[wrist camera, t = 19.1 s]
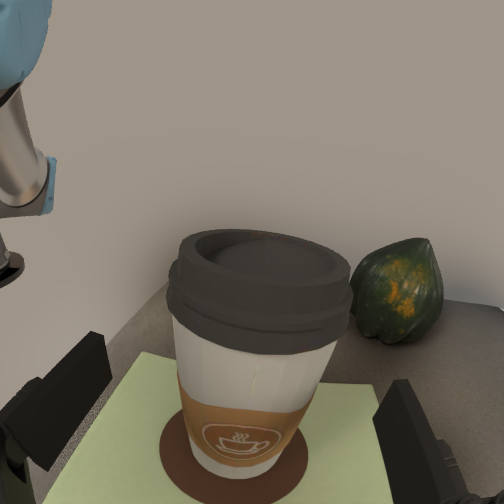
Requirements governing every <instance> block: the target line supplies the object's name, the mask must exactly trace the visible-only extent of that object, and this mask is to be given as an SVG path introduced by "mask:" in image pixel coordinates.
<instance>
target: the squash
mask: <svg viewBox="0 0 504 504" xmlns="http://www.w3.org/2000/svg"><path fill="white" fill-rule="evenodd" d="M349 284H350V286H351V288H352V291H353V293H354V294H353V300H352V305H351V309H350V311H351V313H352V314H353V315H354V316H355V317H356V326H357V329H358V330H359V332H360V333H361V334H362V335H363V336H366V337H374V336H377V335H378V336H379V339H380V340H381V341H382V342H384V343H391V344H393V343H396V342H398V341H400V340H402V341H415V340H417V339H419V338H421V337H422V336H423V335H425V334H426V333H427V332H428V331H429V330H430V328H431V327H432V326H433V325H434V323H435V322H436V321H437V319H438V318H439V315H440V313H441V309H442V304H443V282H442V277H441V273H440V270H439V267H438V264H437V261H436V258H435V255H434V252H433V248H432V246H431V244H430V241H429V240H428V239H427V238H426V239H424V238H411V239H406V240H403V241H399V242H396V243H393V244H391V245H388V246H385V247H383V248H380V249H378V250H376V251H374V252H372V253H370V254H368V255H367V256H366V257H365V258H364V259H363V260H362V261H361V262H360V264H359V265H358V266H357V268H356V270H355V271H354V273H353V275H352V278H351V280H350V283H349Z"/></svg>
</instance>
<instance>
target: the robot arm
mask: <svg viewBox="0 0 504 504" xmlns="http://www.w3.org/2000/svg"><path fill="white" fill-rule="evenodd" d="M51 8H52V0H0V218H7V217H19V216H34V215H38V216H41V215H43V214H49V213H50V212H51V211H52V210H53V200H54V183H55V172H56V162H57V160H56V159H55V158H54V157H50V156H47V157H44V155H43V153H42V152H41V151H40V150H39V149H37V148H36V147H34V146H33V142H32V139H31V135H30V132H29V128H28V124H27V120H26V115H25V111H24V107H23V101H22V96H21V92H20V86H21V85H22V83H23V81H24V79H25V78H26V77H27V76H28V75H29V74H30V73H31V71H32V70H33V68H34V67H35V65H36V63H37V61H38V58H39V56H40V53H41V51H42V48H43V45H44V41H45V38H46V34H47V30H48V18H49V17H50V15H51ZM9 256H10V254H9V252H8V250H7V249H6V247H5V244H4V242H3V239H2V236H1V234H0V273H1V272H2V271H4V270H5V269H6V268H7V267H8V266H9V263H10V261H9ZM112 379H113V377H112V373H111V369H110V364H109V360H108V355H107V350H106V345H105V340H104V335H101V334H98V333H96V332H92V331H90V332H89V333H88V334H87V335H86V336H85V337H84V338H83V339H82V340H81V341H80V342H79V343H78V344H77V345H76V346H75V347H74V348H73V349H72V350H71V351H70V352H69V353H68V354H67V355H66V356H65V357H64V358H63V359H62V360H61V361H60V362H59V363H58V364H57V365H56V366H55V367H54V368H53V369H52V370H51V371H50V372H49V373H48V374H47V375H46V376H45V377H44V378H43V379H41V378H39V377H36V378H34V379H32V380H30V381H28V382H27V383H26V384H25V385H24V386H23V387H22V388H21V390H19V392H17V394H16V396H14V397H13V398H12V399H11V400H10V401H9V402H8V403H7V404H6V405H5V406H4V407H3V409H2V410H1V411H0V504H36V502H35V498H34V494H33V489H32V484H31V479H30V473H29V467H28V462H27V459H26V458H27V457H28V456H29V457H30V458H31V459H32V461H33V462H34V463H35V464H37V465H38V466H40V467H41V468H43V469H44V470H46V471H47V472H48V471H49V470H50V468H51V467H52V465H53V464H54V462H55V461H56V459H57V457H58V456H59V454H60V453H61V451H62V450H63V448H64V447H65V445H66V444H67V442H68V441H69V440H70V438H71V437H72V435H73V434H74V432H75V431H76V429H77V428H78V426H79V425H80V423H81V422H82V421H83V419H84V418H85V416H86V415H87V413H88V412H89V411H90V409H91V408H92V406H93V405H94V404H95V402H96V401H97V399H98V398H99V397H100V395H101V394H102V392H103V391H104V390H105V388H106V387H107V385H108V384H109V383H110V381H111V380H112ZM372 421H373V424H374V428H375V431H376V435H377V438H378V442H379V446H380V449H381V453H382V457H383V461H384V465H385V469H386V473H387V478H388V482H389V486H390V491H391V495H392V500H393V504H504V490H502V491H501V492H500V493H498V494H497V495H496V496H494V497H487V498H480V497H479V496H478V495H476V494H470V493H469V492H468V490H467V488H466V485H465V482H464V480H463V477H462V475H461V472H460V470H459V467H458V465H457V462H456V460H455V458H454V455H453V453H452V450H451V448H450V446H449V445H448V444H447V443H446V442H445V441H444V440H443V439H442V440H438V441H437V440H436V438H435V436H434V434H433V431H432V429H431V427H430V425H429V422H428V420H427V418H426V416H425V414H424V411H423V409H422V407H421V405H420V403H419V401H418V399H417V397H416V395H415V393H414V391H413V389H412V387H411V385H410V383H409V381H408V379H398V380H394V381H393V383H392V385H391V386H390V388H389V390H388V392H387V394H386V396H385V397H384V399H383V401H382V403H381V404H380V406H379V408H378V409H377V411H376V413H375V414H374V416H373V417H372Z"/></svg>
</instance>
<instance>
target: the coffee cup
mask: <svg viewBox="0 0 504 504" xmlns="http://www.w3.org/2000/svg"><path fill="white" fill-rule="evenodd" d="M350 269H351V267H350V265H349V263H348V262H347V260H345V259H344V258H343V257H342V256H341V255H340V254H338V253H336V252H334V251H333V250H331V249H329V248H327V247H324V246H322V245H319V244H316V243H314V242H311V241H307V240H304V239H301V238H297V237H293V236H288V235H284V234H279V233H272V232H266V231H257V230H244V229H243V230H241V229H220V230H210V231H203V232H199V233H196V234H192V235H190V236H188V237H187V238H185V239H183V241H182V243H181V245H180V248H179V256H178V259H177V260H176V261H174V262H173V264H172V266H171V268H170V270H169V282H170V283H169V287H168V290H167V294H166V299H167V305H168V309H169V310H170V312H171V313H172V322H173V332H174V342H175V351H176V359H177V367H178V368H177V378H178V385H179V391H180V397H181V403H182V409H183V415H184V420H185V424H186V428H187V432H188V435H189V440H190V445H191V448H192V452H193V455H194V456H195V458H196V459H197V461H198V462H199V464H201V465H202V466H203V467H204V468H205V469H207V470H208V471H210V472H212V473H214V474H216V475H218V476H221V477H225V478H230V479H247V478H251V477H255V476H258V475H260V474H262V473H264V472H266V471H268V470H269V469H270V468H271V467H272V466H273V465H274V464H275V462H276V461H277V459H278V457H279V456H280V454H281V452H282V451H283V449H284V448H285V447H286V445H287V444H288V443H289V442H290V440H291V438H292V436H293V435H294V433H295V431H296V429H297V428H298V426H299V424H300V422H301V420H302V418H303V417H304V415H305V413H306V411H307V409H308V407H309V405H310V403H311V401H312V399H313V397H314V394H315V391H316V389H317V385H318V383H319V381H320V379H321V377H322V375H323V372H324V370H325V368H326V366H327V364H328V361H329V359H330V357H331V354H332V352H333V350H334V347H335V345H336V343H337V340H338V339H339V338H340V336H341V335H342V334H343V333H344V332H345V331H346V330H347V327H348V323H349V318H350V309H351V305H352V300H353V294H354V293H353V291H352V288H351V286H350V284H349V276H350Z"/></svg>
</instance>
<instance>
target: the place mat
mask: <svg viewBox="0 0 504 504" xmlns="http://www.w3.org/2000/svg"><path fill="white" fill-rule="evenodd" d="M177 368H178V367H177V360H173V359H169V358H165V357H161V356H157V355H154V354H150V353H146V352H143V351H142V352H141V354H140V355H139V357H138V358H137V359H136V361H135V362H134V364H133V365H132V367H131V368H130V369H129V371H128V372H127V374H126V375H125V377H124V378H123V379H122V381H121V382H120V384H119V385H118V387H117V388H116V390H115V391H114V393H113V394H112V395H111V397H110V398H109V400H108V401H107V403H106V404H105V406H104V407H103V409H102V410H101V412H100V413H99V415H98V416H97V418H96V419H95V421H94V422H93V424H92V425H91V427H90V428H89V430H88V431H87V433H86V434H85V436H84V437H83V439H82V440H81V442H80V444H79V445H78V447H77V448H76V450H75V451H74V453H73V454H72V456H71V458H70V459H69V461H68V462H67V464H66V466H65V467H64V469H63V470H62V472H61V474H60V475H59V477H58V478H57V480H56V482H55V483H54V485H53V487H52V488H51V490H50V492H49V493H48V495H47V497H46V498H45V500H44V502H43V503H42V504H393V500H392V495H391V491H390V486H389V482H388V478H387V473H386V469H385V465H384V461H383V457H382V453H381V449H380V446H379V442H378V438H377V435H376V431H375V428H374V424H373V421H372V417H373V416H374V414H375V413H376V411H377V409H378V408H379V404H378V401H377V398H376V395H375V392H374V389H373V386H372V384H337V383H320V382H319V383H318V385H317V389H316V391H315V394H314V397H313V399H312V401H311V403H310V405H309V407H308V409H307V411H306V413H305V415H304V417H303V418H302V420H301V422H300V424H299V426H298V428H297V429H296V431H295V433H294V435H293V436H292V438H291V440H290V442H289V443H288V444H287V445H286V447H285V448H284V449H283V451H282V452H281V454H280V456H279V457H278V459H277V461H276V462H275V464H274V465H273V466H272V467H271V468H270V469H269V470H268V471H266V472H264V473H262V474H260V475H258V476H255V477H251V478H247V479H230V478H225V477H221V476H218V475H216V474H214V473H212V472H210V471H208V470H207V469H205V468H204V467H203V466H202V465H201V464H199V462H198V461H197V459H196V458H195V456H194V455H193V452H192V448H191V445H190V440H189V435H188V432H187V428H186V424H185V420H184V415H183V409H182V403H181V397H180V391H179V385H178V378H177Z"/></svg>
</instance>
